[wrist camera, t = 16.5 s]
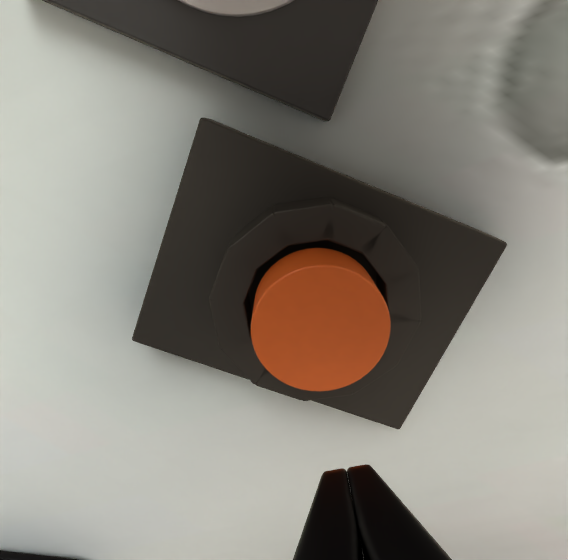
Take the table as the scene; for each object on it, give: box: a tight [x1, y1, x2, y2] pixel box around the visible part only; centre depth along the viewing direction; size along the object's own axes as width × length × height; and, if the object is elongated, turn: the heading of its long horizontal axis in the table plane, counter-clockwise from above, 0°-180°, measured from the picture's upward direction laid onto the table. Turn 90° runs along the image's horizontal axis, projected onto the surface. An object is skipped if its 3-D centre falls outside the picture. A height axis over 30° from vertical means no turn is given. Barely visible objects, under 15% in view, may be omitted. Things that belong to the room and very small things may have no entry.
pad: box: [132, 118, 507, 429], centre depth 16 cm, size 12×9×3 cm
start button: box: [251, 248, 391, 391], centre depth 14 cm, size 4×4×2 cm
